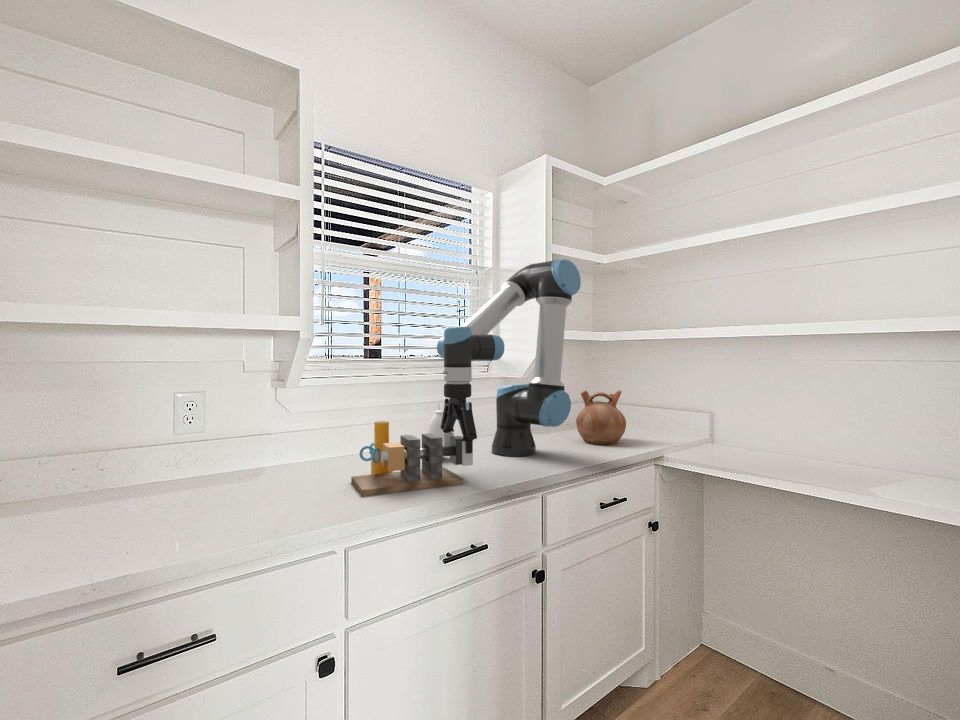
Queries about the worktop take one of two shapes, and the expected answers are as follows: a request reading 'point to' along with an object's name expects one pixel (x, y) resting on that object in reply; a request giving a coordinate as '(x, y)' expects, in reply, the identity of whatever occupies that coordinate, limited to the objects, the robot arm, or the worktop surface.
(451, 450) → the shaft
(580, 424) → the jug
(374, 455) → the cylinder
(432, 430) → the sauce bottle
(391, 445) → the block
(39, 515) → the worktop surface
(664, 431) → the worktop surface
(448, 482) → the jig
